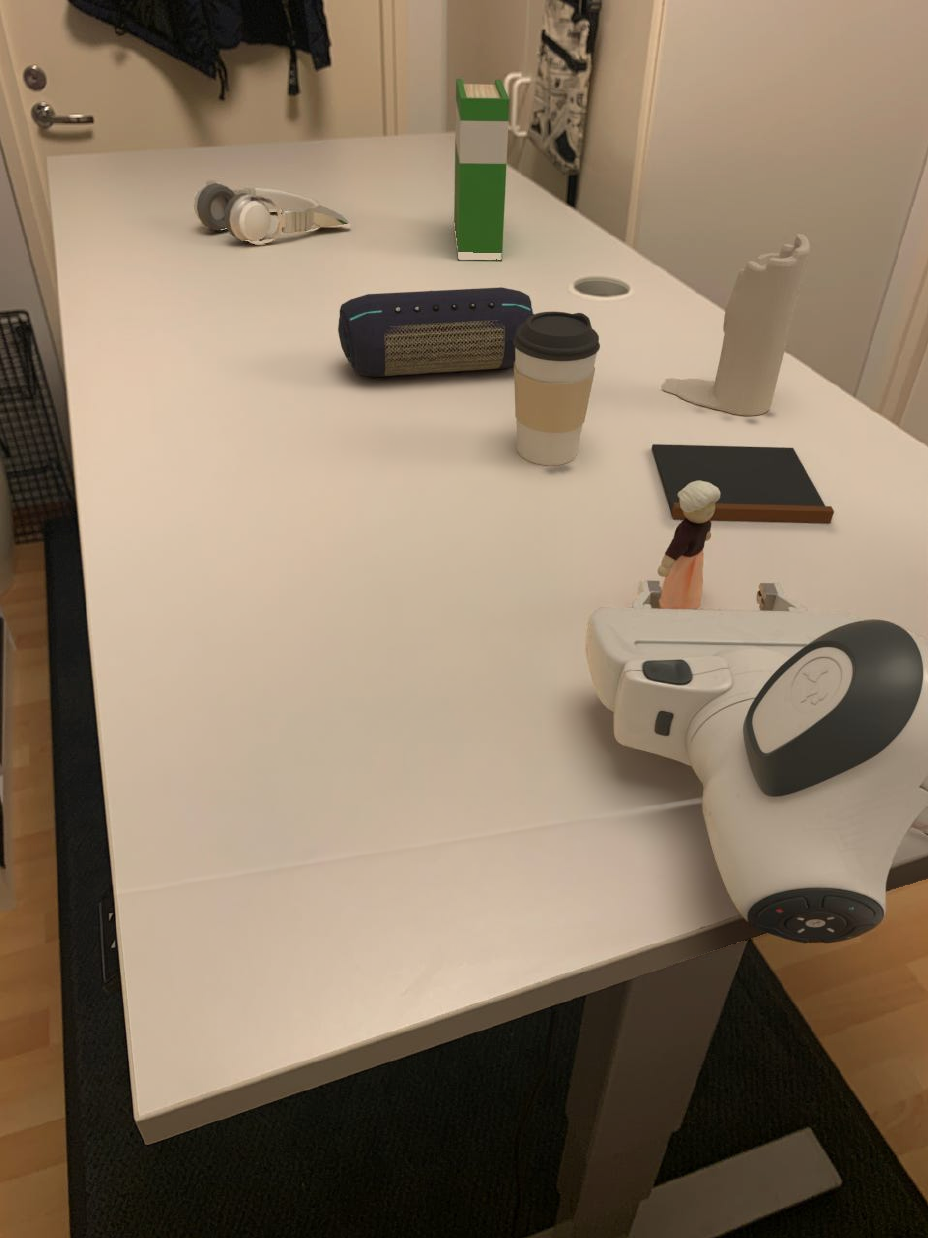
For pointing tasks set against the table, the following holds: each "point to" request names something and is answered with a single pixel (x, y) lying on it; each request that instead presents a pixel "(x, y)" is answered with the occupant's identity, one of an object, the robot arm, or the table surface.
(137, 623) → the table surface
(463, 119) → the hardback book
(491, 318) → the portable speaker
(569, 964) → the table surface
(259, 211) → the headphones
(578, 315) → the coffee cup
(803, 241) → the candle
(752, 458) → the chalkboard
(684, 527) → the grandmother figurine
